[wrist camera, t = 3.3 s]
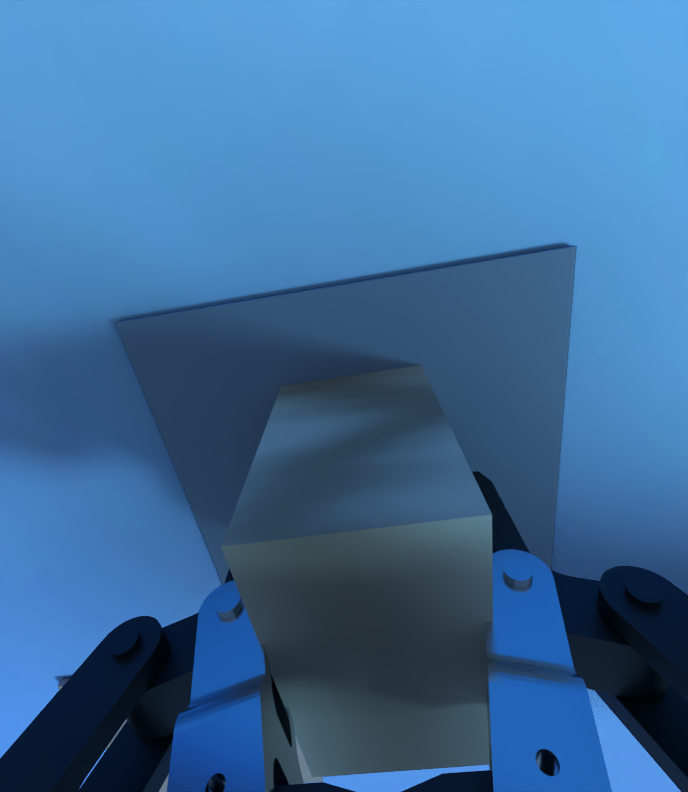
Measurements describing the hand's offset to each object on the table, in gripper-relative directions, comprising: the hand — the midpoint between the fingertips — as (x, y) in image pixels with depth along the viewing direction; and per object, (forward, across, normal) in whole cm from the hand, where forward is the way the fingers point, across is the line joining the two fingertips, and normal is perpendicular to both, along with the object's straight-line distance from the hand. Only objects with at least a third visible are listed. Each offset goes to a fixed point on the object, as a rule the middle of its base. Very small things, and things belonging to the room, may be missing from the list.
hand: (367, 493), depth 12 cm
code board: (+1, 0, 0) cm, 1 cm away
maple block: (+1, 0, 0) cm, 1 cm away
